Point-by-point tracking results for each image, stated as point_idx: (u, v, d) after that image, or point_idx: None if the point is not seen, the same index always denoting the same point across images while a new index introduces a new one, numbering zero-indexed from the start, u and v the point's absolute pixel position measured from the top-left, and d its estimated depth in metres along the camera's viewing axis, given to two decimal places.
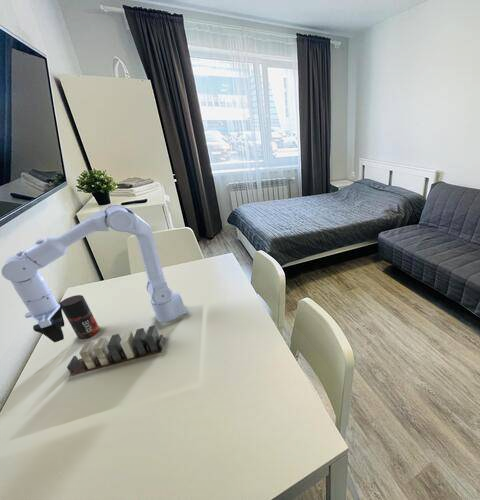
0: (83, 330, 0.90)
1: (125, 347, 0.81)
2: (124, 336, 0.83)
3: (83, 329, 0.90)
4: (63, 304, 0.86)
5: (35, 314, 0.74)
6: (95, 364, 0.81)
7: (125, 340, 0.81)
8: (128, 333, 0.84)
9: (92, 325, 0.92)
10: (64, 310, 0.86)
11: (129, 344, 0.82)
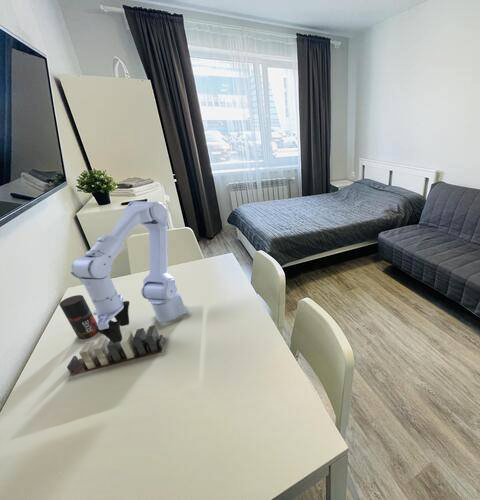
0: (83, 330, 0.90)
1: (125, 347, 0.81)
2: (124, 336, 0.83)
3: (83, 329, 0.90)
4: (63, 304, 0.86)
5: (99, 313, 0.75)
6: (95, 364, 0.81)
7: (125, 340, 0.81)
8: (128, 333, 0.84)
9: (92, 325, 0.92)
10: (64, 310, 0.86)
11: (129, 344, 0.82)
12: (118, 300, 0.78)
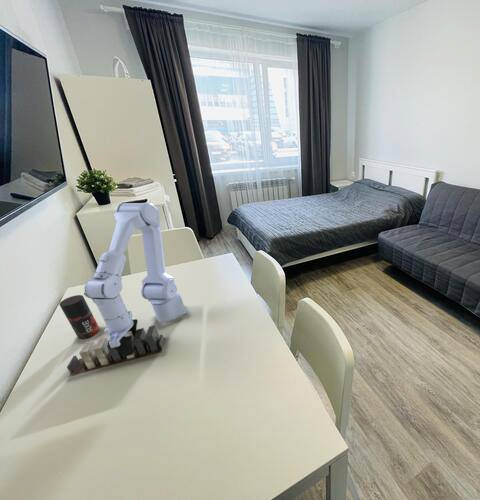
0: (83, 330, 0.90)
1: None
2: None
3: (83, 329, 0.90)
4: (63, 304, 0.86)
5: (111, 331, 0.78)
6: (95, 364, 0.81)
7: None
8: (128, 333, 0.84)
9: (92, 325, 0.92)
10: (64, 310, 0.86)
11: None
12: (128, 318, 0.81)
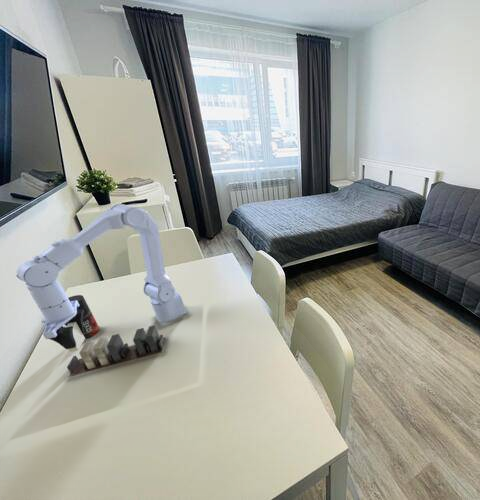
0: None
1: None
2: None
3: None
4: None
5: (48, 321, 0.71)
6: (95, 364, 0.81)
7: None
8: (72, 324, 0.77)
9: (92, 325, 0.92)
10: None
11: None
12: (69, 307, 0.74)
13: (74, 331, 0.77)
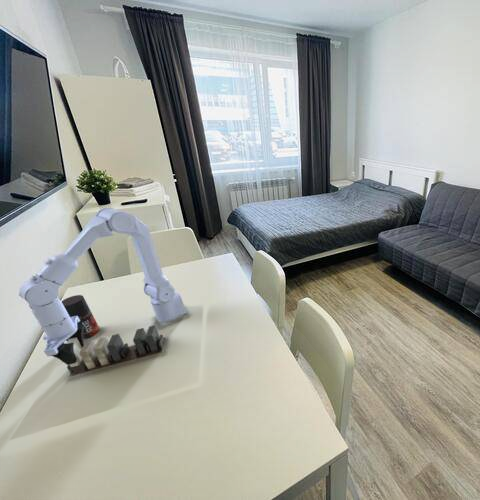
0: None
1: None
2: (67, 343, 0.78)
3: None
4: (63, 304, 0.86)
5: (49, 338, 0.73)
6: (95, 364, 0.81)
7: None
8: (72, 340, 0.79)
9: (92, 325, 0.92)
10: None
11: None
12: (70, 324, 0.75)
13: (75, 347, 0.78)
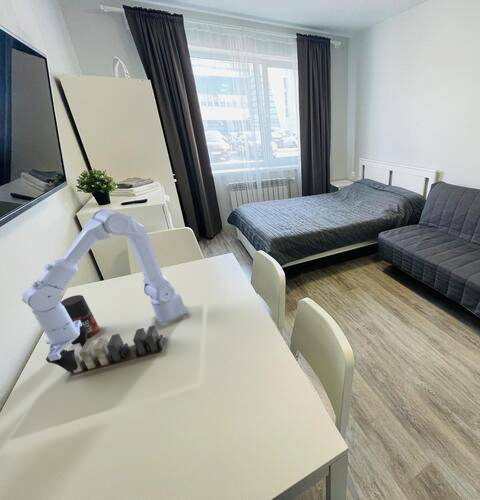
0: None
1: None
2: (71, 349, 0.79)
3: None
4: (63, 304, 0.86)
5: (52, 343, 0.74)
6: (95, 364, 0.81)
7: None
8: (76, 345, 0.80)
9: (92, 325, 0.92)
10: None
11: (75, 357, 0.78)
12: (73, 328, 0.76)
13: (78, 352, 0.79)
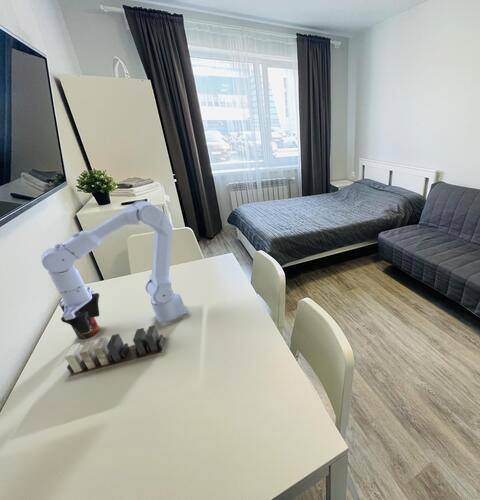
0: None
1: (71, 361, 0.77)
2: (71, 349, 0.79)
3: None
4: None
5: (67, 304, 0.78)
6: (95, 364, 0.81)
7: (70, 353, 0.77)
8: (76, 345, 0.80)
9: (92, 325, 0.92)
10: None
11: (75, 357, 0.78)
12: (86, 292, 0.80)
13: (78, 352, 0.79)
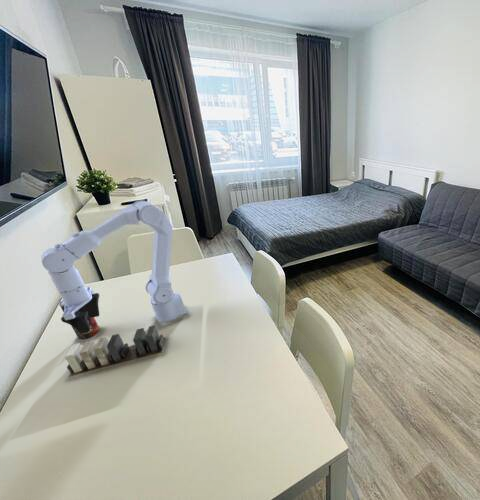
0: None
1: (71, 361, 0.77)
2: (71, 349, 0.79)
3: None
4: None
5: (67, 304, 0.78)
6: (95, 364, 0.81)
7: (70, 353, 0.77)
8: (76, 345, 0.80)
9: (92, 325, 0.92)
10: None
11: (75, 357, 0.78)
12: (86, 292, 0.80)
13: (78, 352, 0.79)
